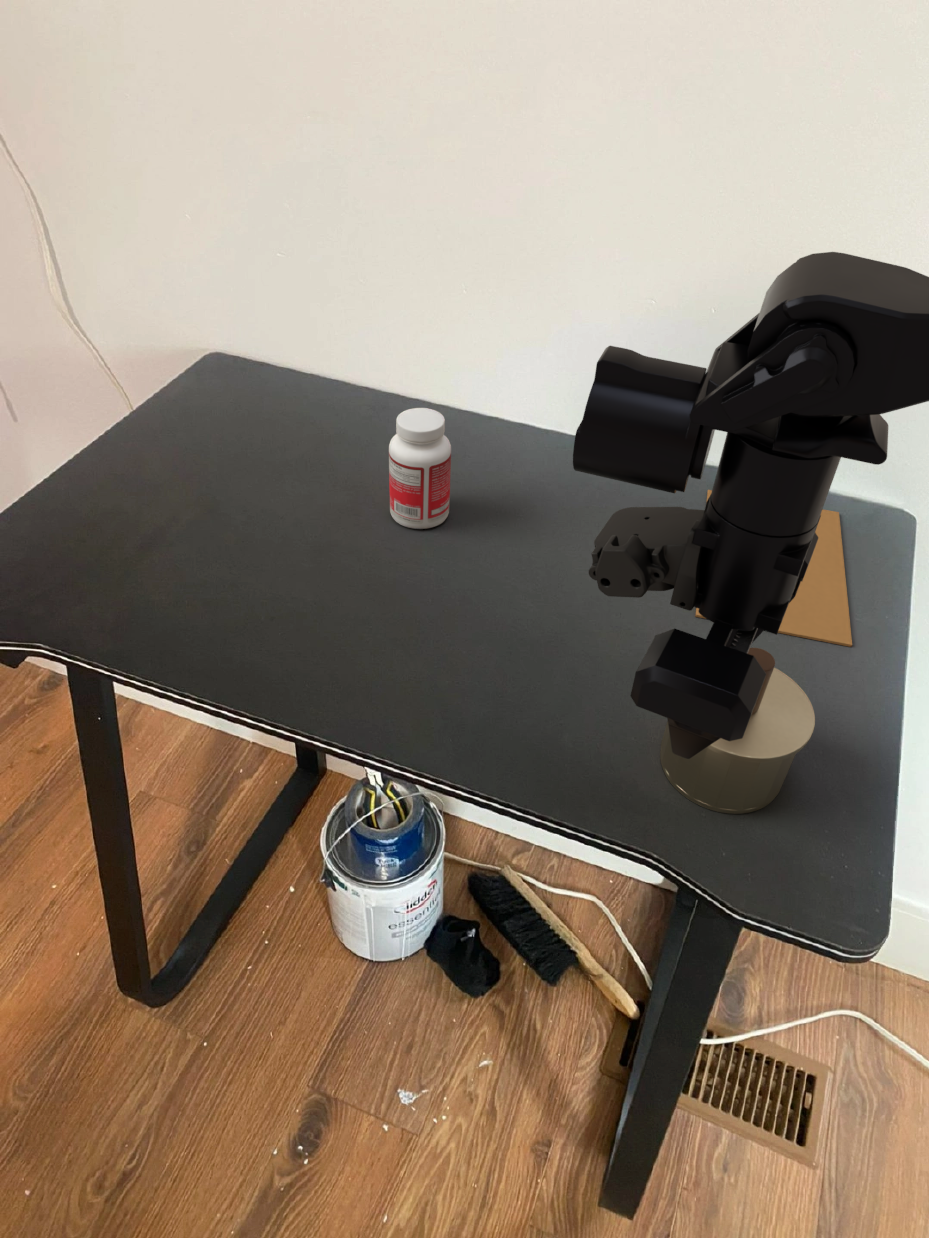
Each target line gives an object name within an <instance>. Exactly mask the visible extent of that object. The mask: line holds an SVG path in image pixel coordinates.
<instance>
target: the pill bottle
mask: <svg viewBox="0 0 929 1238" xmlns="http://www.w3.org/2000/svg"><path fill="white" fill-rule="evenodd" d="M395 421H396V422H395V423H396V425H395V426H396V427H395V431H396V433H395V434H394V435H393V436H392V438H391V439H390V441H389V444H388V472H389V473H388V475H389V476H388V477H389V478H388V479H389V481H388V482H389V487H388V488H389V512H390V515H391V517H392V519H393V520H394V521H395V522H396V523H397V524H399V525H401V526H403V527H405V528H408V529H415V530H423V529H425V530H426V529H431V528H434V527H437V526H440V525H441V524H443V523H444V522H445V521H446V519H447V518H448V516H449V514H450V506H451V505H450V502H451V501H450V500H451V499H450V498H451V472H452V471H451V468H452V467H451V466H452V445H451V442H450V440H449V438H448V437H447V436H446V434H445V431H446V420H445V416H444V415H443V414H442V413H441V412H440V411H438V410H435V409H433V408H432V409H431V408H427V407H414V408H409V409H405V410H404V411H402V412H400V413H399V414H398V415H397V417H396V419H395Z"/></svg>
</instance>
